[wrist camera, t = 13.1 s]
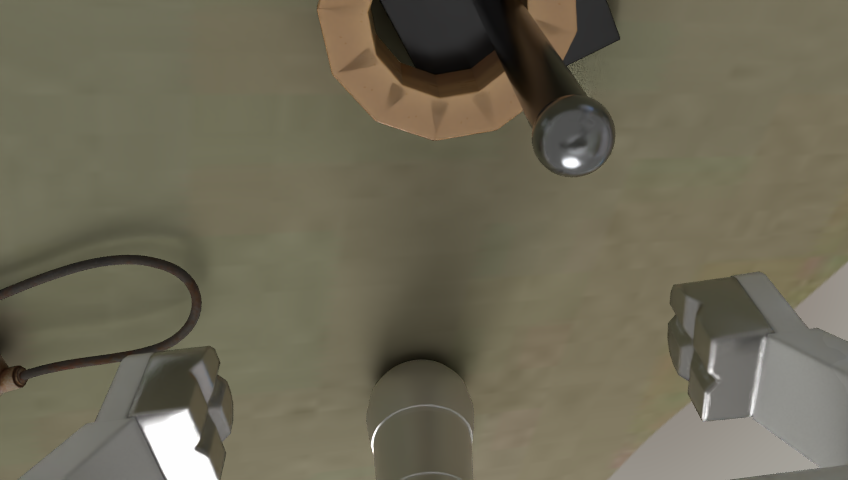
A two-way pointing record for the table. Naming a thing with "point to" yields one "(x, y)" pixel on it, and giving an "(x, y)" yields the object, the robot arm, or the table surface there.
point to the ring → (424, 92)
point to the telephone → (17, 376)
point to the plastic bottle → (421, 423)
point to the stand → (520, 68)
